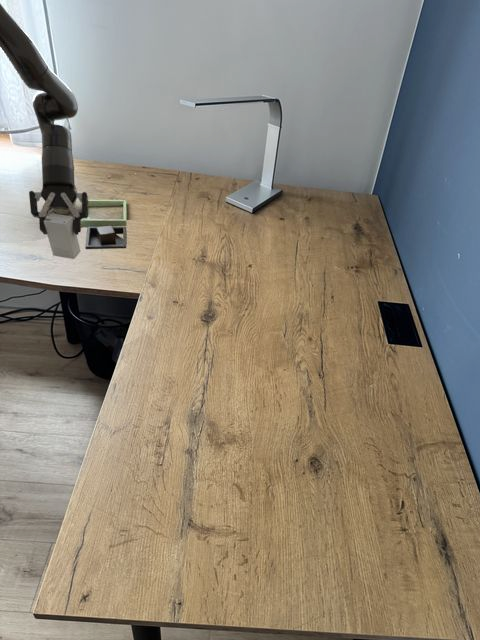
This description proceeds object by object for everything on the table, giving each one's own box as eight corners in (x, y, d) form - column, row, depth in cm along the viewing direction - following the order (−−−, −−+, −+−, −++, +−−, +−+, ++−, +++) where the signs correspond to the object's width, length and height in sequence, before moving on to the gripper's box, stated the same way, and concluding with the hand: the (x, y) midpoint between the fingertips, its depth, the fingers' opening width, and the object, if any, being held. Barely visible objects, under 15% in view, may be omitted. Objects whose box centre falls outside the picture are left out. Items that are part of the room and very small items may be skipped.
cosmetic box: (82, 255, 135) (74, 215, 126) (75, 265, 132) (67, 224, 123) (60, 251, 135) (51, 211, 127) (52, 261, 132) (42, 220, 124)
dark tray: (86, 255, 136) (85, 246, 134) (88, 234, 143) (87, 226, 142) (126, 254, 138) (126, 246, 136) (126, 234, 146) (126, 226, 144)
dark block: (101, 247, 138) (99, 234, 136) (98, 239, 141) (96, 227, 138) (116, 245, 140) (114, 232, 137) (112, 237, 142) (111, 225, 140)
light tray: (81, 228, 145) (80, 220, 144) (84, 207, 154) (83, 199, 152) (126, 228, 148) (126, 220, 146) (126, 207, 157) (126, 200, 155)
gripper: (23, 162, 122) (26, 229, 122) (85, 164, 125) (88, 230, 125) (31, 173, 129) (33, 237, 129) (89, 175, 132) (92, 237, 132)
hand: (60, 233), depth 127 cm, fingers closed on cosmetic box, 7 cm apart
